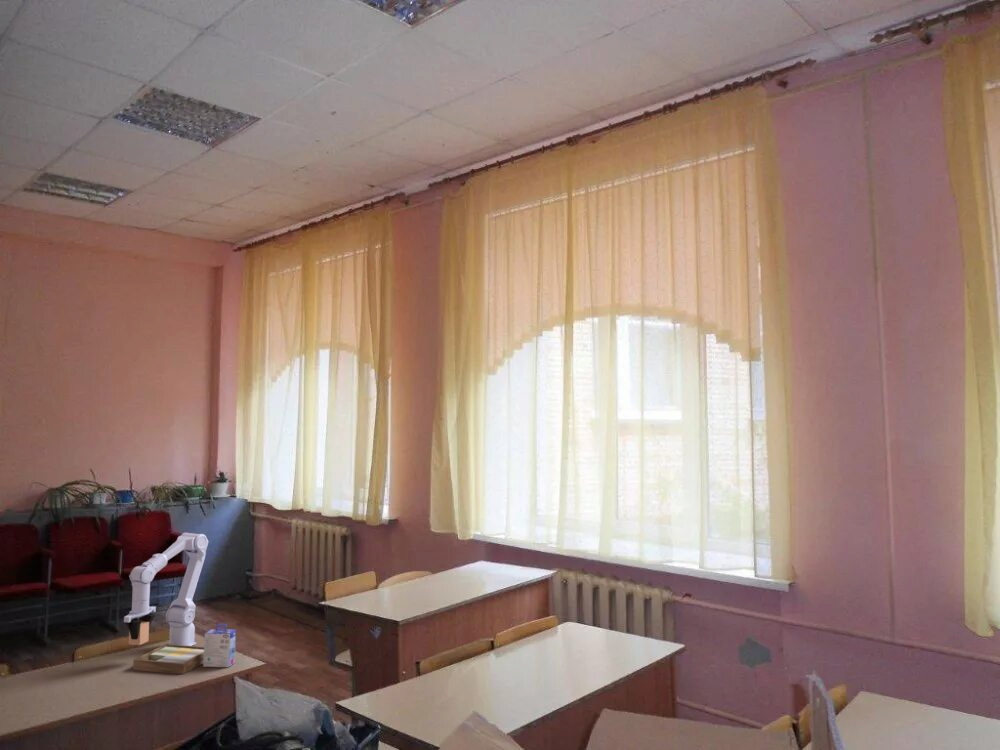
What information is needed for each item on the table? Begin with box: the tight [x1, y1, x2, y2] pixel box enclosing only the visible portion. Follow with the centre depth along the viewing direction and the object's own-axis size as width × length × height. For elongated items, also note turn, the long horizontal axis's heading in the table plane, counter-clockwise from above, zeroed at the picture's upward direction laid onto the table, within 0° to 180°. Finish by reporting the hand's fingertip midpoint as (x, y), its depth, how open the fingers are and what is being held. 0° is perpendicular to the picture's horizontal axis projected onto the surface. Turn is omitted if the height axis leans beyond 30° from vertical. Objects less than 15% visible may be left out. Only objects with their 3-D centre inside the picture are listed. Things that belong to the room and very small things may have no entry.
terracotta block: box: [128, 621, 150, 646], centre depth 259 cm, size 5×5×7 cm
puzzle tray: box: [132, 643, 204, 675], centre depth 258 cm, size 18×20×4 cm
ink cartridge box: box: [202, 623, 237, 668], centre depth 257 cm, size 10×6×14 cm, turn 88°
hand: (139, 636), depth 258 cm, fingers closed on terracotta block, 5 cm apart
